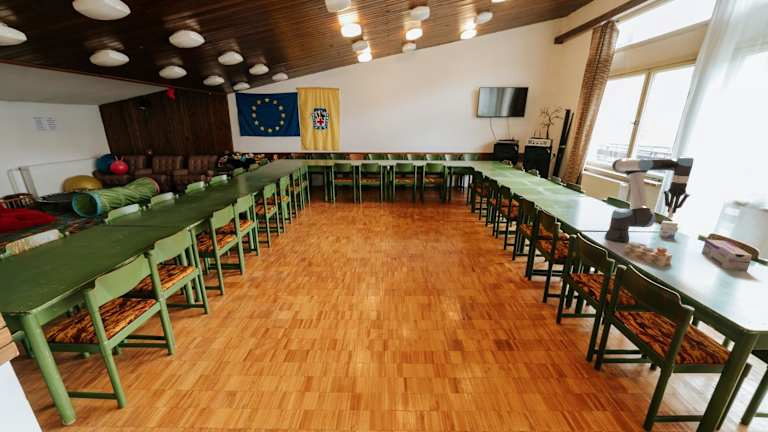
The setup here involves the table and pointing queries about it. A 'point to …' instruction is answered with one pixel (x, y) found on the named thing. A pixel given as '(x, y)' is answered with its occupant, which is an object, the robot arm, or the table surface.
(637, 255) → the press block
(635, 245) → the grey plunger near
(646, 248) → the grey plunger middle
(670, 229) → the ink box
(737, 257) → the surgical sutures box
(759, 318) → the table surface
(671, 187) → the robot arm
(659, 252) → the terracotta plunger
